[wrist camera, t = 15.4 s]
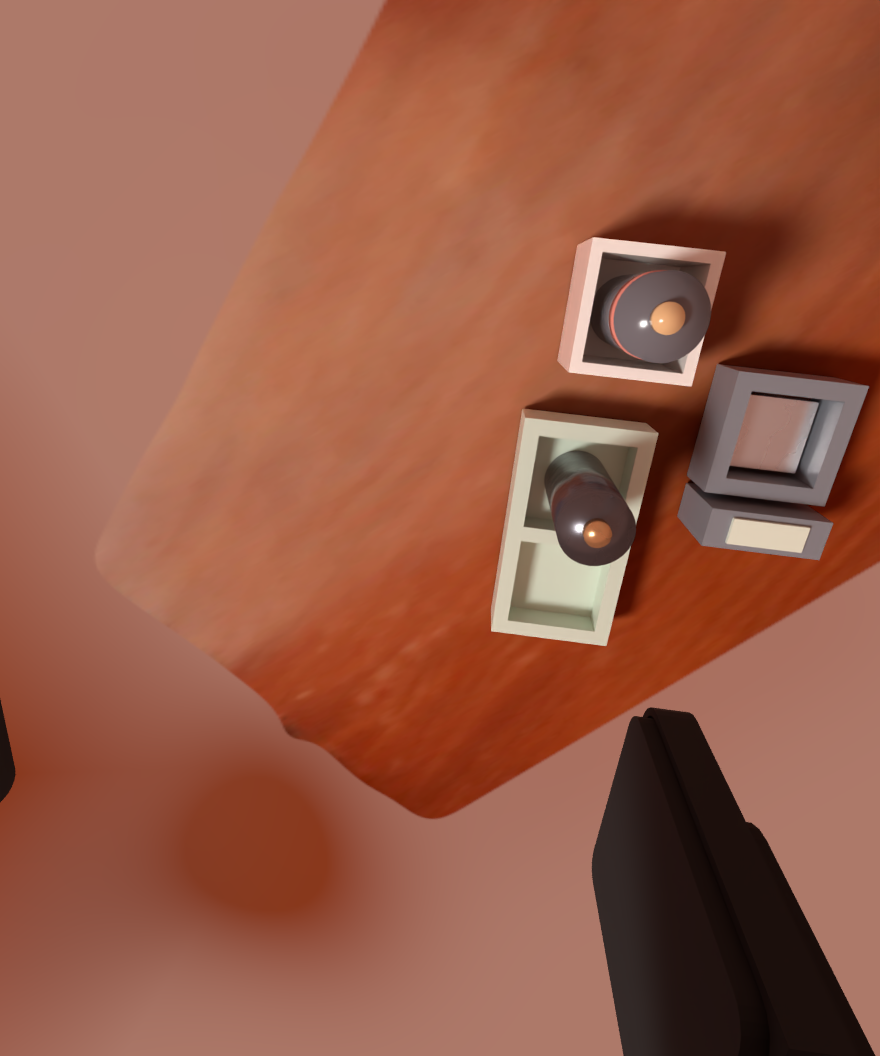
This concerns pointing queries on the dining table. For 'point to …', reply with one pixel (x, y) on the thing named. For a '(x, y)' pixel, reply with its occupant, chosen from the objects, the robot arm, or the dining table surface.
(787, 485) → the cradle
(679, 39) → the dining table surface
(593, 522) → the cell
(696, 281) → the cup
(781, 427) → the pad
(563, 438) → the tray
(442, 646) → the dining table surface
